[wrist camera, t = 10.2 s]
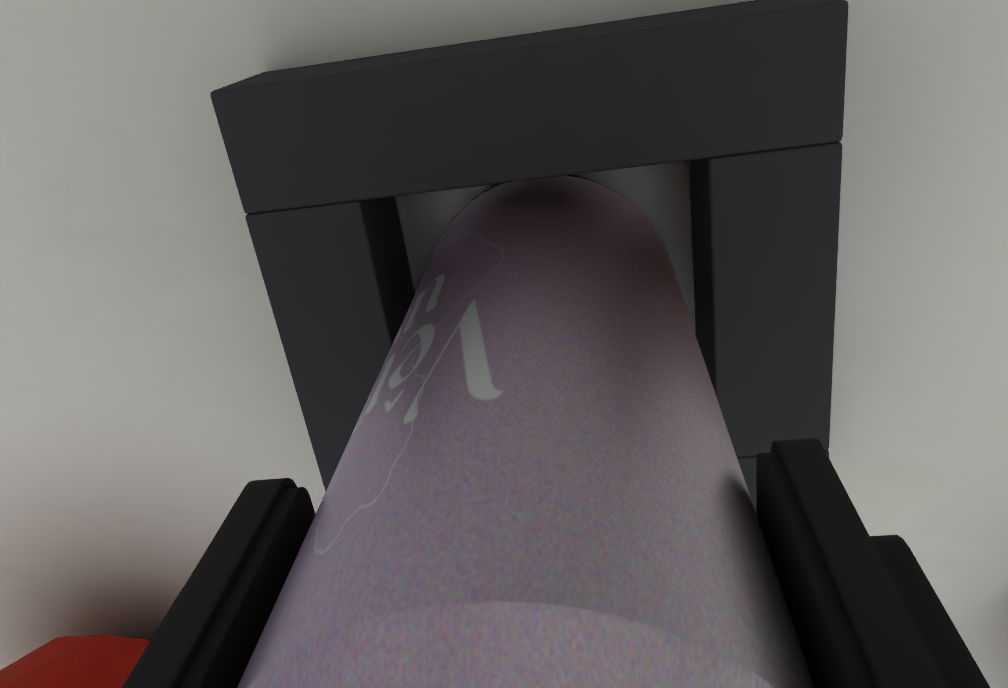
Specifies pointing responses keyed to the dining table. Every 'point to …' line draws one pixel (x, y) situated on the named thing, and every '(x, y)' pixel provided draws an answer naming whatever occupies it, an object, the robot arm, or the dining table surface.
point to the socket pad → (557, 152)
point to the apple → (76, 663)
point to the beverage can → (537, 481)
